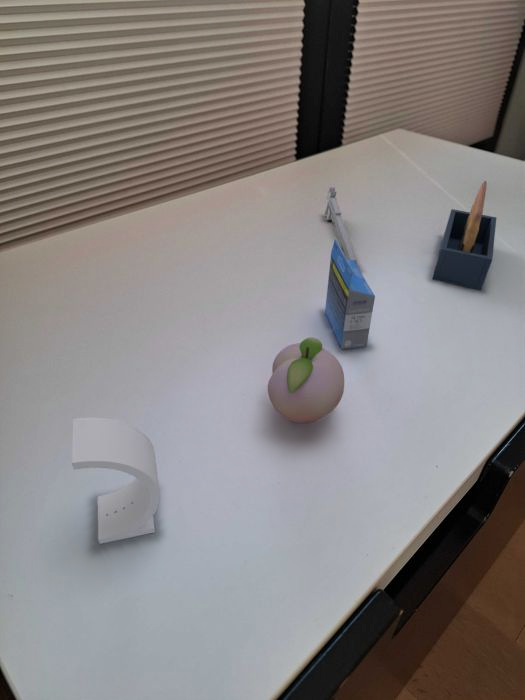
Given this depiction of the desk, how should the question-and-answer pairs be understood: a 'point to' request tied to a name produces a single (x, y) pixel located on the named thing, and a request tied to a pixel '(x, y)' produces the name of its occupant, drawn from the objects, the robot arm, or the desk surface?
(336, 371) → the decorative fruit
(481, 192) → the ammunition clip
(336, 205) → the caliper
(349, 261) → the label tape box
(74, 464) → the headphone stand
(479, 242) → the desk tidy
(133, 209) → the desk surface
